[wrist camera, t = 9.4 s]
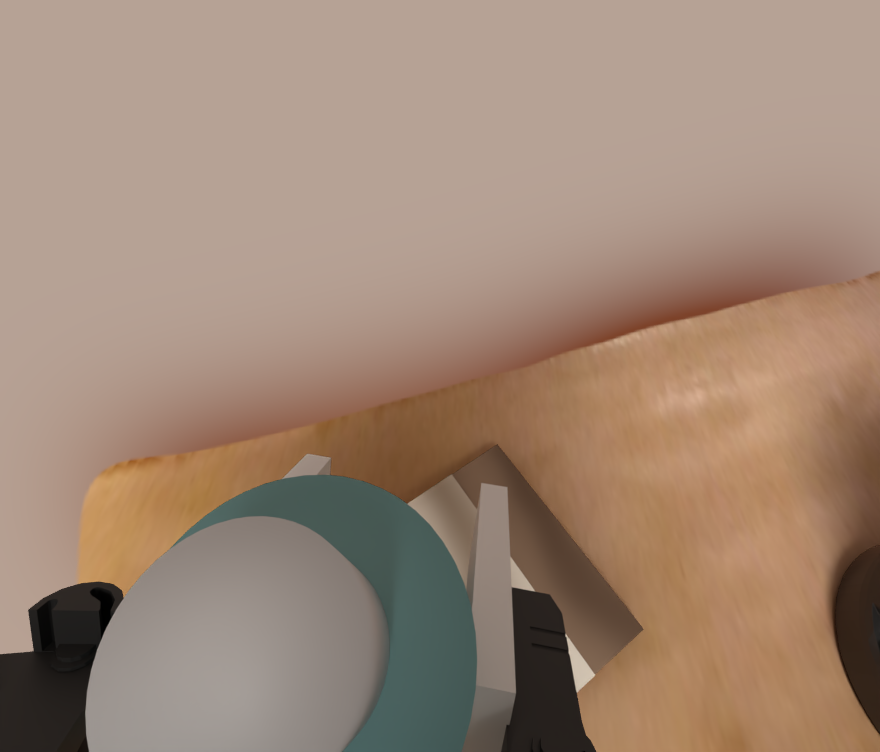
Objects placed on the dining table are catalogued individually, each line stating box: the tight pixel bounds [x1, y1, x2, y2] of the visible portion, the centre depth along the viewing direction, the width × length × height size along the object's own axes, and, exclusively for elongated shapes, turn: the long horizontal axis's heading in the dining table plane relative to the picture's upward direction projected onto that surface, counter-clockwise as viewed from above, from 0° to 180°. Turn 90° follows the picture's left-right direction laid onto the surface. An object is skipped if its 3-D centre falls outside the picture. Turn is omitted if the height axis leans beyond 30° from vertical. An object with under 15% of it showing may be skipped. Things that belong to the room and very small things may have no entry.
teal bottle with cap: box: [85, 475, 477, 752], centre depth 10 cm, size 5×5×13 cm
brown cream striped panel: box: [407, 445, 643, 692], centre depth 28 cm, size 13×14×2 cm
